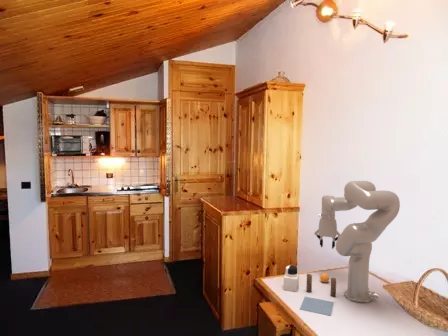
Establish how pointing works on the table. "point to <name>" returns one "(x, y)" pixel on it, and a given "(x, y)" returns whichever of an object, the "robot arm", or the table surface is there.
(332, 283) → the post
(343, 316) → the table surface
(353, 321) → the table surface
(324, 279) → the ball
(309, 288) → the post
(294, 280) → the medicine bottle
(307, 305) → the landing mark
